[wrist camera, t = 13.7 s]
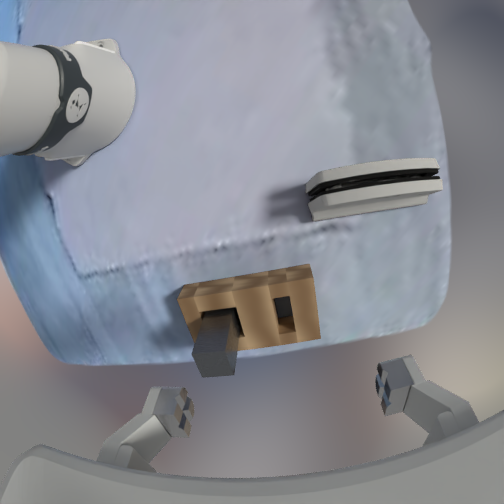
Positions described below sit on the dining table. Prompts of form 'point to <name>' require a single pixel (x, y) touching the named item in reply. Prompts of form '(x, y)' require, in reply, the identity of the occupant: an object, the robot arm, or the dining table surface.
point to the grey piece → (372, 187)
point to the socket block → (258, 306)
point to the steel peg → (217, 342)
